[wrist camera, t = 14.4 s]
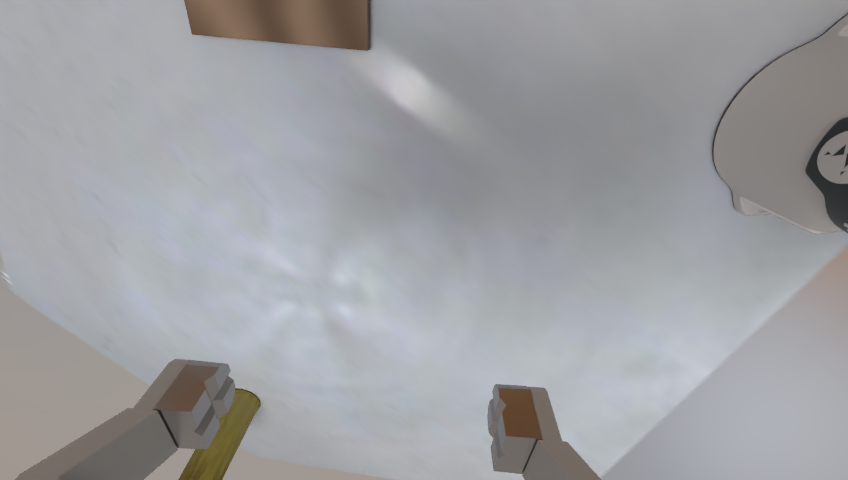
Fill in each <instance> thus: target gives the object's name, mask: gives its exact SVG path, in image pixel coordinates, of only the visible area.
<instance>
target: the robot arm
mask: <svg viewBox="0 0 848 480" xmlns="http://www.w3.org/2000/svg"><path fill="white" fill-rule="evenodd" d="M714 162H715V166H716V169H717V171H718V173H719V175H720V177H721V178H722V179H723V180H724V182H725V183H726V184H727V185H728V186H729V187H730V189H731V190H732V193H733V202H734V207H735V209H736V210H737V211H738V212H740V213H742V214H744V215H747V216H754V215H766V214H773V215H775V216H777V217H779V218H781V219H784V220H786V221H788V222H790V223H792V224H794V225H796V226H798V227H800V228H802V229H804V230H806V231H809V232H811V233H815V234H821V233H823V232H841V231H845V232H847V233H848V15H847V16H845V17H844V18H843V19H841V20H840V21H839V22H838V23H837V24H835V25H834V26H833V27H832V28H831V29H829V30H828V31H827V32H826V33H825V34H824V35H822V36H820V37H819V38H817V39H815V40H813V41H812V42H810V43H807V44H805V45H803V46H801V47H799V48H797V49H795V50H793V51H791V52H789V53H787V54H785V55H784V56H782V57H780V58H779V59H777V60H776V61H774V62H773V63H771V64H770V65H769V66H767V67H766V68H765V69H763V70H762V71H761V72H760V73H758V74H757V75H756V76H755V77H754V78H753V79H752V80H751V81H750V82H749V83H748V84H747V85H746V86H745V87H744V88H743V89H742V90H741V92H740V93H739V94H738V95H737V96H736V98H735V99H734V100H733V102H732V103H731V105H730V106H729V108H728V109H727V111H726V113H725V115H724V117H723V118H722V121H721V123H720V125H719V128H718V131H717V134H716V137H715V142H714ZM229 373H230V368H229V365H228V364H225V363H215V362H204V361H194V360H184V359H174V360H173V361H171V362H170V363H168V365H167V366H166V367H165V368H164V370H163V371H162V372H161V374H160V375H159V376H158V377H157V379H156V380H155V381H154V382H153V384H152V385H151V386H150V388H149V389H148V390H147V391H146V393H145V394H144V395H143V397H142V398H141V399H140V400H139V402H138V403H137V404H136V405H135V407H134V408H127V409H126V410H124V411H123V412H121V413H119V414H118V415H116V416H114V417H113V418H111V419H109V420H108V421H106V422H104V423H103V424H101V425H100V426H98V427H96V428H95V429H93V430H91V431H90V432H88V433H86V434H85V435H83V436H82V437H80V438H78V439H77V440H75V441H73V442H72V443H70V444H68V445H67V446H65V447H64V448H62V449H60V450H59V451H57V452H55V453H54V454H52V455H51V456H49V457H47V458H46V459H44V460H42V461H41V462H39V463H37V464H36V465H34V466H33V467H31V468H29V469H28V470H26V471H24V472H23V473H21V474H20V475H19V476H18V477H17V478H16V479H15V480H144V479H145V478H146V477H147V476H148V475H149V474H150V473H152V472H153V471H154V470H155V469H156V468H157V467H158V466H160V465H161V464H162V463H163V462H164V461H165V460H167V459H168V458H169V457H170V456H171V455H172V454H173V453H175V452H176V451H177V450H178V449H177V448H190V449H208V448H209V446H210V444H211V442H212V441H213V439H214V437H215V435H216V433H217V431H218V429H219V428H220V425H219V418H221V417H222V416H224V415H225V414H226V413H228V411H229V409H230V407H231V405H232V403H233V399H234V395H235V384H234V380H232V379H231V378H230V377H229V376H228V375H229ZM492 392H493V399H491V400H490V402H489V406H488V430H489V433H490V435H491V436H492V437H493V441H492V445H491V454H492V462H493V469H494V471H499V472H509V473H518V474H523V475H522V476H523V478H524V479H525V480H601V479H600V478H599V477H598V476H597V474H596V473H595V472H594V471H593V470H592V469H591V468H590V467H589V466H588V464H587V463H586V462H585V461H584V460H583V459H582V458H581V457H580V456H579V454H578V453H577V452H576V451H575V450H574V449H573V448H572V447H571V446H570V444H569V443H568V442H564V441H562V439H561V436H560V433H559V429H558V426H557V423H556V419H555V416H554V413H553V409H552V406H551V403H550V399H549V396H548V393H547V391H546V389H545V388H540V387H527V386H517V385H501V384H496V385H495V386H494V388H493V391H492Z"/></svg>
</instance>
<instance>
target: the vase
mask: <svg viewBox="0 0 848 480" xmlns="http://www.w3.org/2000/svg"><path fill="white" fill-rule="evenodd" d="M259 407H260V402H259V400H258V398H257V397H256V396H255V395H254V394H252V393H250V392H248V391H245V390H239V389H235V395H234V399H233V403H232V405H231V407H230V409H229V411H228V413H226V414H225V415H224V416H222V417H221V418H219V425H220V428H219V429H218V431H217V433H216V435H215V437H214V439H213V441H212V442H211V444H210V446H209V448H208V449H195V451H194V453H193V455H192V457H191V458H190V460H189V462H188V464H187V465H186V467H185V469H184V471H183V473H182V474H181V476H180V478H179V480H222V479H223V477H224V474H225V472H226V470H227V468H228V466H229V464H230V462H231V460H232V459H233V456H234V454H235V452H236V450H237V448H238V447H239V445H240V443H241V441H242V439H243V437H244V435H245V433H246V431H247V429H248V427H249V425H250V423H251V421H252V419H253V417H254V415H255V413H256V411H257V410H258V408H259Z"/></svg>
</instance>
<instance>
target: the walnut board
mask: <svg viewBox="0 0 848 480" xmlns="http://www.w3.org/2000/svg"><path fill="white" fill-rule="evenodd" d="M184 1H185V5H186V10H187V14H188V18H189V23H190V27H191V32H192V34H194V35H205V36H215V37H226V38H237V39H248V40H259V41H270V42H281V43H292V44H303V45H313V46H324V47H335V48H346V49H357V50H370V0H184Z"/></svg>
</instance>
